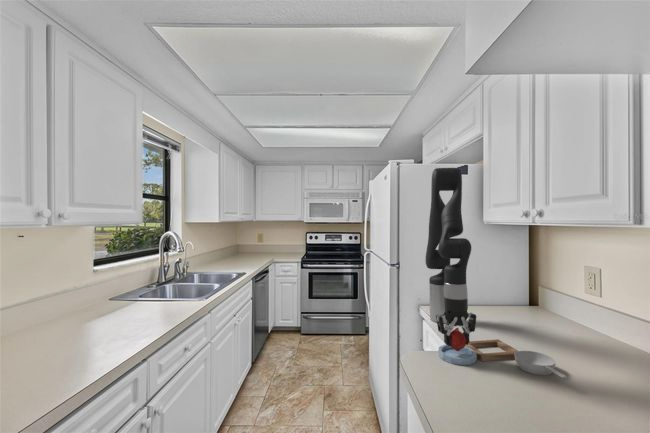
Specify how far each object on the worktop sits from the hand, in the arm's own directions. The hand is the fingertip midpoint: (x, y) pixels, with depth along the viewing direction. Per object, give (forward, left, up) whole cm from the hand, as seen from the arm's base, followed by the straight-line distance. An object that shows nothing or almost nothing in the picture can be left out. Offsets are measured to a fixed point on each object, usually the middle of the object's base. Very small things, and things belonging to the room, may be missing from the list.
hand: (456, 344), depth 107 cm
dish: (0, 0, -4) cm, 4 cm away
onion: (0, 0, -2) cm, 2 cm away
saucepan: (+15, +19, -5) cm, 25 cm away
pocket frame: (-2, +14, -4) cm, 15 cm away
